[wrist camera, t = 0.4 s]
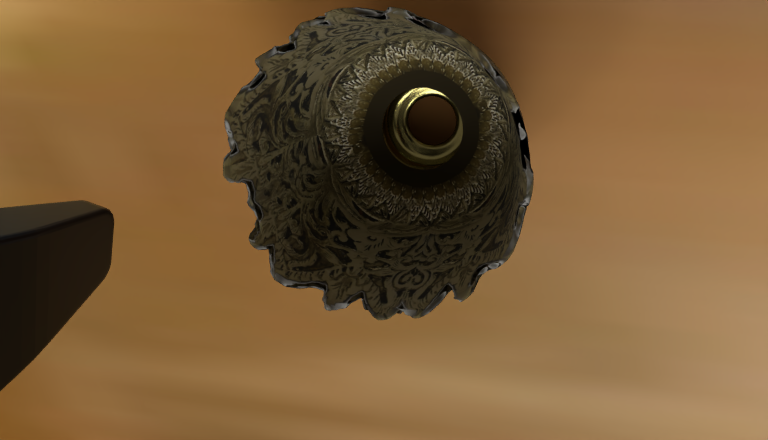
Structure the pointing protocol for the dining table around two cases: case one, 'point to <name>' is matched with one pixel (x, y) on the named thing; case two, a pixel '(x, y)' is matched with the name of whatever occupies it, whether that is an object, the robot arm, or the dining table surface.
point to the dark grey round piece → (379, 162)
